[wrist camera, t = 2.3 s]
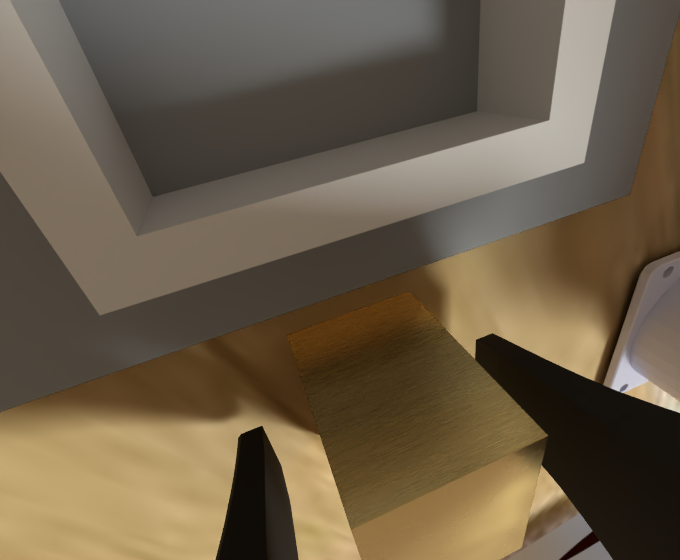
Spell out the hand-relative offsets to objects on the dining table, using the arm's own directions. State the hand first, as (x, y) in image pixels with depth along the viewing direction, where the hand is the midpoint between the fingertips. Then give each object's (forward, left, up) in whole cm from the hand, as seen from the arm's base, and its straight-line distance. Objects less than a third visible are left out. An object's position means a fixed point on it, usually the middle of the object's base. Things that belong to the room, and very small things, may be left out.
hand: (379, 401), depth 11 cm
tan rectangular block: (0, 0, -2) cm, 2 cm away
